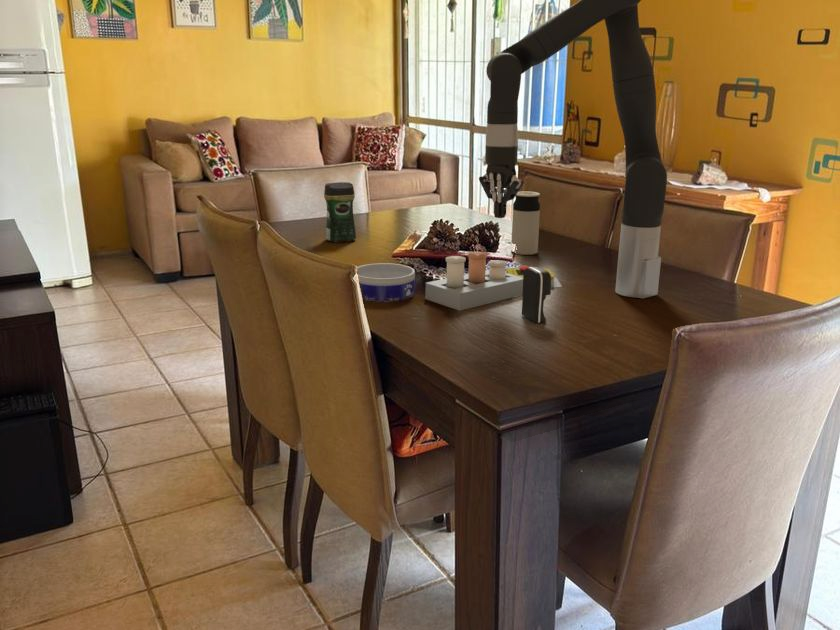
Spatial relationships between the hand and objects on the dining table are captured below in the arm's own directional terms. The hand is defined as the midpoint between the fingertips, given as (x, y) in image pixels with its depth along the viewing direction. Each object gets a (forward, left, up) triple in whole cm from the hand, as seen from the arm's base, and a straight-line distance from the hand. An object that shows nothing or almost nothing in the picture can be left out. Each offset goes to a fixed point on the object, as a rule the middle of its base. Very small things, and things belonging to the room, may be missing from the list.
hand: (499, 217), depth 183 cm
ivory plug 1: (0, +14, -15) cm, 21 cm away
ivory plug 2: (0, 0, -18) cm, 18 cm away
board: (0, +7, -19) cm, 20 cm away
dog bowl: (+16, +23, -19) cm, 34 cm away
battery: (-21, +9, -19) cm, 29 cm away
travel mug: (+26, -38, -19) cm, 50 cm away
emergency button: (+1, -13, -19) cm, 24 cm away
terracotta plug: (0, +7, -15) cm, 17 cm away
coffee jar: (+75, -4, -19) cm, 77 cm away
